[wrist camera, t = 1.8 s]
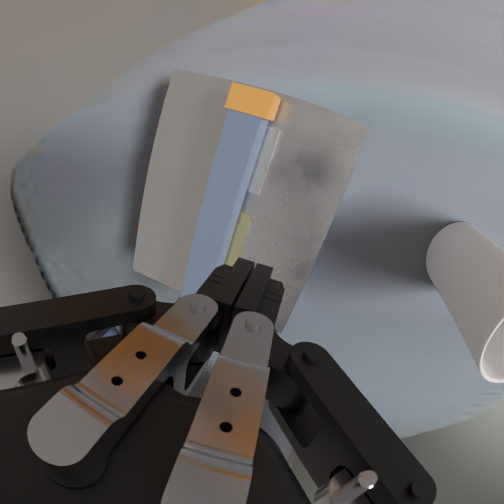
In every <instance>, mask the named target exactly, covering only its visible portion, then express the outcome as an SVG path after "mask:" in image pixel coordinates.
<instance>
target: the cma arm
mask: <svg viewBox="0 0 504 504" xmlns="http://www.w3.org/2000/svg"><path fill="white" fill-rule="evenodd" d="M280 101H281V98H280V97H279V96H277V95H276V94H275V93H272V92H268V91H265V90H261V89H257V88H254V87H250V86H246V85H242V84H238V83H234V82H232V85H231V88H230V91H229V94H228V97H227V101H226V104H225V108H229V111H228V114H227V117H226V121H225V124H224V127H223V131H222V134H221V137H220V141H219V144H218V148H217V151H216V155H215V158H214V162H213V165H212V169H211V172H210V176H209V180H208V184H207V187H206V191H205V195H204V199H203V203H202V207H201V210H200V214H199V218H198V222H197V227H196V231H195V235H194V239H193V243H192V247H191V252H190V256H189V261H188V265H187V269H186V274H185V279H184V283H183V288H182V293H181V296H180V297H179V299H180V298H182V297H183V296H185V295H188V294H195V293H196V292H197V291H198V289H199V288H200V287H201V286H202V284H203V283H204V282H205V280H207V278H208V277H209V275H211V273H212V272H213V270H214V269H215V268H216V267H218V266H221V265H223V264H224V262H225V259H226V256H227V252H228V249H229V246H230V242H231V239H232V236H233V232H234V229H235V226H236V223H237V219H238V216H239V213H240V210H241V206H242V203H243V200H244V197H245V194H246V190H247V187H248V184H249V181H250V178H251V175H252V172H253V168H254V165H255V162H256V159H257V156H258V153H259V150H260V147H261V144H262V141H263V137H264V134H265V131H266V128H267V125H268V122H269V120H271V121H274V119H275V116H276V113H277V110H278V107H279V104H280ZM179 299H178V300H179ZM178 300H177V301H178ZM177 301H176V302H177ZM176 302H175V303H176Z"/></svg>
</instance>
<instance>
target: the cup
mask: <svg viewBox="0 0 504 504" xmlns="http://www.w3.org/2000/svg"><path fill="white" fill-rule="evenodd" d="M426 269H427V272H428V275H429V277H430V279H431V280H432V282H433V283H434V285H435V287H436V288H437V290H438V292H439V294H440V295H441V297H442V299H443V300H444V302H445V304H446V306H447V308H448V309H449V311H450V313H451V315H452V317H453V318H454V320H455V322H456V324H457V326H458V328H459V330H460V332H461V334H462V336H463V338H464V340H465V342H466V344H467V346H468V348H469V350H470V352H471V354H472V356H473V358H474V360H475V362H476V365H477V367H478V369H479V371H480V373H481V375H482V376H483V377H484V379H486V380H487V381H489V382H493V383H501V382H504V250H503V249H502V248H501V247H500V246H498V245H497V244H496V243H495V242H493V241H492V240H491V239H490V238H488V237H487V236H486V235H485V234H483V233H482V232H481V231H479V230H478V229H477V228H475V227H474V226H473V225H471V224H469V223H465V222H456V223H452V224H449V225H447V226H445V227H444V228H443V229H441V230H440V231H439V232H438V233H437V234H436V235H435V237H434V238H433V239H432V241H431V243H430V245H429V247H428V250H427V255H426Z"/></svg>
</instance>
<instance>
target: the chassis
mask: <svg viewBox="0 0 504 504" xmlns="http://www.w3.org/2000/svg"><path fill="white" fill-rule="evenodd" d="M232 82H234V83H238V84H242V85H246V86H250V87H254V88H257V89H261V90H265V91H268V92H272V93H275V94H276V95H277V96H279V97H280V98H281V101H280V104H279V107H278V110H277V113H276V116H275V119H274V121H271V120H269V122H268V125H267V128H266V131H265V134H264V137H263V141H262V144H261V147H260V150H259V153H258V156H257V159H256V162H255V165H254V168H253V172H252V175H251V178H250V181H249V184H248V187H247V190H246V194H245V197H244V200H243V203H242V206H241V210H240V213H239V216H238V219H237V223H236V226H235V229H234V232H233V236H232V239H231V242H230V246H229V249H228V252H227V256H226V259H225V262H224V264H225V265H229V266H233V265H234V263H235V262H236V260H237V259H238V258H239V257H240V258H244V259H247V260H250V261H253V262H255V266H256V264H257V263H260V264H263V265H267V266H270V267H273V272H272V275H271V279H274V280H277V281H281V282H282V283H283V286H284V288H285V291H284V294H283V298H282V302H281V305H280V309H279V312H278V316H277V319H276V323H275V330H276V331H277V332H280V333H281V332H282V330H283V328H284V326H285V324H286V322H287V320H288V318H289V316H290V314H291V312H292V310H293V308H294V306H295V304H296V302H297V299H298V297H299V295H300V293H301V291H302V289H303V287H304V285H305V282H306V280H307V278H308V276H309V274H310V271H311V269H312V267H313V265H314V263H315V260H316V258H317V256H318V254H319V251H320V249H321V247H322V245H323V242H324V240H325V238H326V235H327V233H328V231H329V228H330V226H331V224H332V221H333V219H334V216H335V214H336V212H337V209H338V207H339V204H340V202H341V199H342V197H343V195H344V192H345V190H346V187H347V185H348V182H349V179H350V177H351V174H352V172H353V169H354V167H355V164H356V161H357V159H358V156H359V153H360V151H361V148H362V145H363V143H364V140H365V137H366V134H367V132H368V129H369V126H368V125H366V124H364V123H361V122H359V121H357V120H354V119H352V118H349V117H347V116H344V115H342V114H339V113H336V112H334V111H331V110H329V109H326V108H323V107H320V106H318V105H315V104H312V103H309V102H306V101H303V100H300V99H297V98H294V97H291V96H287V95H284V94H281V93H278V92H274V91H271V90H267V89H263V88H260V87H256V86H252V85H248V84H244V83H240V82H236V81H232V80H228V79H223V78H218V77H214V76H209V75H203V74H198V73H193V72H187V71H181V70H173V73H172V77H171V80H170V83H169V87H168V90H167V94H166V97H165V101H164V104H163V108H162V112H161V116H160V120H159V124H158V128H157V132H156V136H155V140H154V145H153V149H152V154H151V158H150V163H149V168H148V173H147V178H146V183H145V189H144V194H143V200H142V206H141V212H140V219H139V225H138V233H137V240H136V248H135V256H134V265H133V270H134V271H137V272H139V273H141V274H143V275H145V276H147V277H149V278H151V279H154V280H156V281H158V282H160V283H162V284H164V285H167V286H169V287H171V288H173V289H175V290H178V291H180V292H182V288H183V283H184V279H185V274H186V269H187V265H188V261H189V256H190V252H191V247H192V243H193V239H194V235H195V231H196V227H197V222H198V218H199V214H200V210H201V207H202V203H203V199H204V195H205V191H206V187H207V184H208V180H209V176H210V172H211V169H212V165H213V162H214V158H215V155H216V151H217V148H218V144H219V141H220V137H221V134H222V131H223V127H224V124H225V121H226V117H227V114H228V111H229V108H225V104H226V101H227V97H228V94H229V91H230V88H231V85H232ZM254 268H255V267H254Z"/></svg>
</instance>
